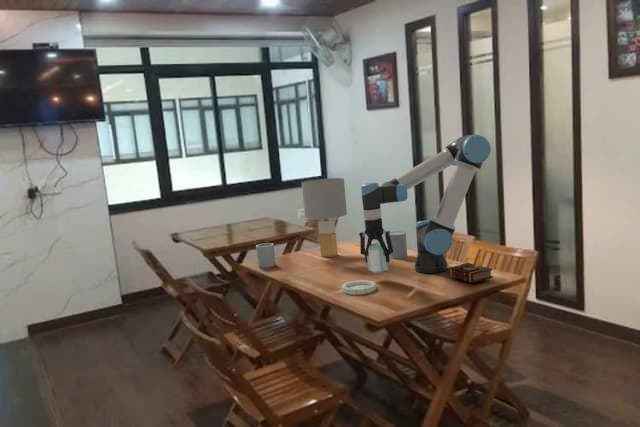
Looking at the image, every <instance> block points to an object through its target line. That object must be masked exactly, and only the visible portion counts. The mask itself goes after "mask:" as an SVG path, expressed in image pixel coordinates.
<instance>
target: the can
mask: <svg viewBox="0 0 640 427" xmlns="http://www.w3.org/2000/svg"><path fill="white" fill-rule="evenodd" d="M368 252H369V261H370V270H369V271H371V272H372V273H374V274H375V273H376V274H377V273H378V274H379V273H383V272H385V271H386V270H385V265H384V255H385V253H384V251H383V249H382V247H381V245H380V243H379V242H376V243H371V245H369V248H368Z"/></svg>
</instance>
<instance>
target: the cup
mask: <svg viewBox="0 0 640 427" xmlns="http://www.w3.org/2000/svg"><path fill="white" fill-rule="evenodd" d="M255 250H256V259H257V260H256V261H257V267H259V268H262V269H263V268H272V267H274V266H276V254H275V247H274V243H272V242H266V243H265V242H264V243H259V244H256V245H255Z"/></svg>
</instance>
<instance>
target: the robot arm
mask: <svg viewBox="0 0 640 427" xmlns="http://www.w3.org/2000/svg"><path fill="white" fill-rule="evenodd" d="M491 151H492V147H491V144H490V141H489V140H488V139H487V138H486V137H484V136H482V135H480V134H465V135H463V136H461V137H458V138H457V139H455V140H454V141H452V142H451V143H449V144H447V145H446V146H445V147H444V148H443V150H442V151H440V152H439V153H436V154H435V155H433V156H431V157H430V158H428V159H426V160H424V161H423V162H421V163H419V164H417V165H416V166H413V167H412V168H410V169H408V170H407V171H405V172H403V173H401V174H400V175H398V176H396V177H395V178H392V179H390V181H386V182H383V183H382V184H381V186H379V183H378V182H367V183H362V185H361V189H360V190H361V201H362V207H363V209H362V210H363V217H364V218H363V219H365V220H364V226H365V230H364V231H361V232H359V238H360V242H359V243H360V250H359V252H360V255H363V256H364V261H365V263H367V268H368V269H367V270H368V271H371V270H370V261H369V252H368V248H369V245H371V244H373V243H372V242H373V240H376V241H378V242H377V243H380V245H381V247H382V249H383V251H384V253H385V255H384V265H385V271H388V270H389V263H390V261H391V258H390V257H389V254H391V253H393V248H392V244H391V239H390V232H391V231H390V230H385V229H384V226H383V218H381V217H382V208H381V204H382V205H383V204H390V203H401V202H404V201H407V200H408V190H410V189H412V188H414V187H415V186H417V185H419V184H421V183H422V182H425V181H427V179H429V178H431V177H434V176H435V175H437V174H438V173H440V172H443V171H444V170H446V169H447V168H449V167H451V166H454V169H453V172H452V173H451V177H450V179H449V182H448V183H447V186H446V188H445V191H444V194H443V196H442V198H441V201H440V202H439V206H438V208H437V211H436V212H435V215H434V216H433V217H431V218H430V219H428V220H420V221H416V223H415V230H416V231H415V233H416V245H417V248H416V249H417V256H416V259H415V263H414V270H415V272H418V273H422V274H423V273H424V274H429V273H430V274H433V273H434V274H435V273H436V274H437V273H441V272H445V271H447V270H449V264H448V261H447V259H446V255H445V254H446V253H448V252H449V251H450V250H451V249H452V247H453V243H454V240H453V236H454V234H455V231H456V227H455V222H456V219H457V216H458V214H459V212H460V210H461V207H462V204H463V202H464V199H465V198H466V195H467V193H468V191H469V188H470V185H471V183H472V181H473V178H474V176H475V174H476V172H479V171H480V170H481V169H482V165H483V163H484V162H486V160H487V159H489V156H490V155H491ZM383 235H384V236H385V241H384V237H383ZM366 236H367V242H366ZM385 242H386V243H385Z"/></svg>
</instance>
